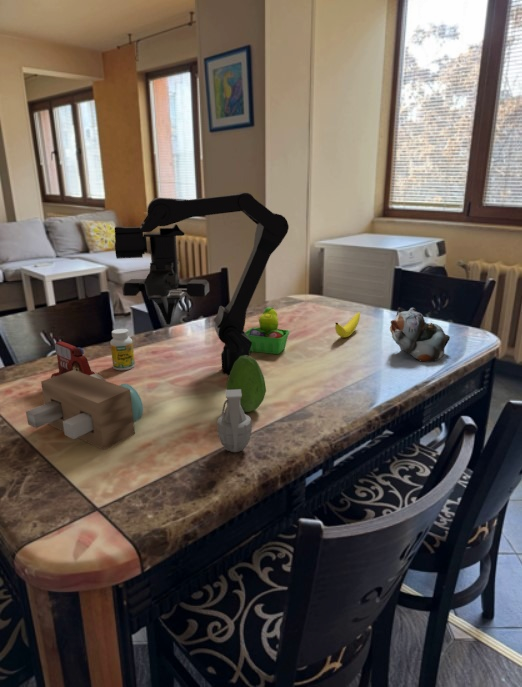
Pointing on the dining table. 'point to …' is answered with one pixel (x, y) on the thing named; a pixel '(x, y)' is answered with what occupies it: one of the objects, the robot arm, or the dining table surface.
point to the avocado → (247, 382)
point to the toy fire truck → (71, 359)
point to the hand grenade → (234, 423)
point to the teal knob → (84, 421)
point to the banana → (348, 327)
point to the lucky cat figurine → (418, 335)
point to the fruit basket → (268, 334)
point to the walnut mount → (86, 407)
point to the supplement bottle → (122, 350)
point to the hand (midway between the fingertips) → (169, 324)
